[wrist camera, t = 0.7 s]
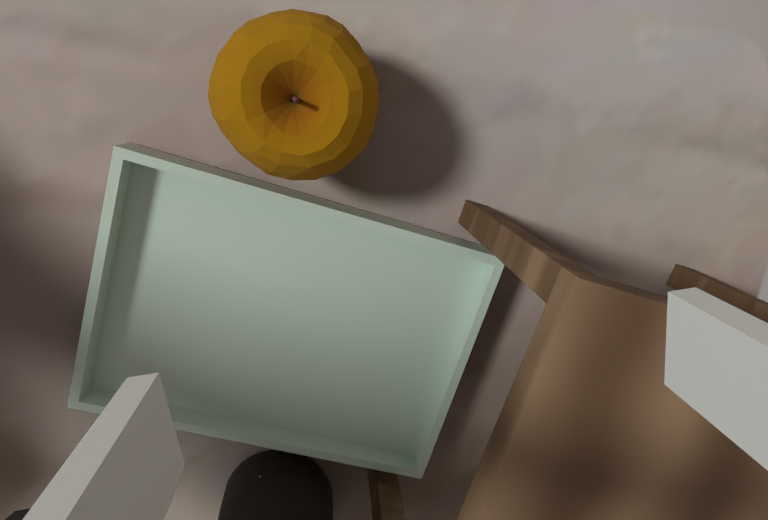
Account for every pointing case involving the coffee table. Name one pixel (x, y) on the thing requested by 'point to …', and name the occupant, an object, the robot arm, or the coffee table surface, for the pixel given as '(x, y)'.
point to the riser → (597, 406)
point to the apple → (295, 94)
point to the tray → (278, 313)
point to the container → (277, 489)
